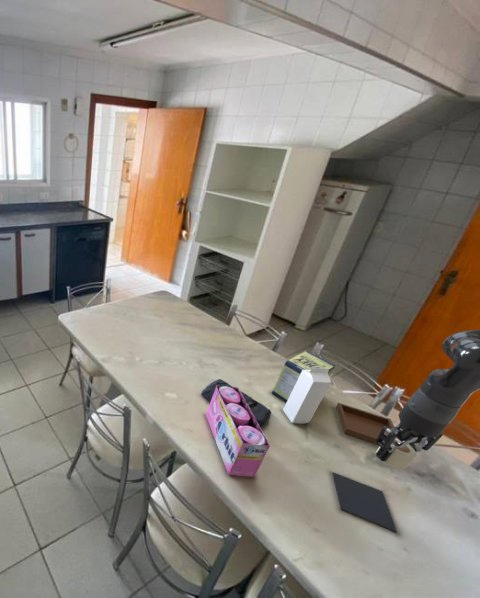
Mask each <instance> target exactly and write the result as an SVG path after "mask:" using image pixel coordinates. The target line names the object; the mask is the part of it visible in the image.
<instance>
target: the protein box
mask: <svg viewBox="0 0 480 598" xmlns="http://www.w3.org/2000/svg"><path fill="white" fill-rule="evenodd" d="M335 367H336V365H335V364H333V363H331V362H329V361H327V360H325V359H323V358H321V357H320V356H317V355H316V354H314V353H312V352H310V351H309V350H304V351H303V352H301V353H299V354H297V355H295V356H293V357H291V358H290V359H288V360H286V361H285V362H284V365H283V367H282V369H281V371H280V373H279V376H278V378H277V380H276V383H275V385H274V387H273V389H272V392H271V394H272V395H274V396H275V397H277V398H279V399H280V400H281V401H283V402H285V404H286V403H287V401H288V399H289V396H290V394H291V392H292V390H293V388H294V386H295V384H296V382H297V380H298V378H299V376H300V374H301V372H302V370H311V369H312V368H323V369H329V371H328V375H329V377H330V376H331V375H332V373H333V371H334V368H335Z"/></svg>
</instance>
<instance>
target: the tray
mask: <svg viewBox="0 0 480 598" xmlns="http://www.w3.org/2000/svg"><path fill="white" fill-rule="evenodd" d="M335 408H336V412H337V415H338V419H339V422H340V426H341V428H342V432H343V434H345V435H347V436H351V437H353V438H357V439H359V440H362V441H364V442H368V443H371V444H373V445H377V446H379V445H378V444H377V443H376V442H375V441H376V439H377V437H378V436H379V434H380V432H381V430H382V428H383V427H384V426H388V427H389V428H390V429H393V428H395V427H396V426H395V425H394V423H393V421H392V419H391V418H388V417H385V416H382V415H378V414H376V413H372V412H369V411H366V410H363V409H359V408H356V407H355V406H350V405H348V404H344V403H341V402H337V405H336V406H335Z"/></svg>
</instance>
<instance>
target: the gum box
mask: <svg viewBox="0 0 480 598" xmlns="http://www.w3.org/2000/svg"><path fill="white" fill-rule="evenodd" d="M232 387H233V388H230V387H226V386H225V387H220V388H219V385H218V386H216V389H215V392H214V394H213V397H212V400H211V402H209V406H208V408H207V411H206V414H205V416H206V419H207V421H208V425H209V428H210V429H211V432H212V435H213V438H214V440H215V443H216V446H217V448H218V451H219V453H220V456H221V460H222V461H223V464H224V467H225V470H226V472H227V474H228V475H229V476H238V477H251V478H255V477H256V475H257V473H258V471H259V469H260V466H261V465H262V463H263V462H264V459H265V457H266V455H267V454H268V452H269V449H270V447H271V444H270V443H269V440H268V438H267V436H266V435H265V433H264V431H263V430H262V428H261V426H259V424H258V423H257V421H256V419H255V417H254V415H253V414H252V412H251V410H250V408H249V406H248V405H247V403H246V401H245V399H244V397H243V395H242V394H241V392H242V391H241V390H240V389H239V387H237V386H232ZM240 391H241V392H240Z"/></svg>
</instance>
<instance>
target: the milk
mask: <svg viewBox="0 0 480 598" xmlns="http://www.w3.org/2000/svg"><path fill="white" fill-rule="evenodd" d="M328 371H329V369H323V368H312V369H311V370H302V372H301V374H300V376H299V378H298V380H297V382H296V384H295V386H294V388H293V390H292V392H291V394H290V396H289V399H288V401H287V403H286V402H285V405H284V406H283V409H282V412H283V413H284V414H285V416H286V417H287V419H288V420H289V421H290V422H291V424H301V425H307V424H308V423H310V422H311V420H312V418H313V417H314V415H315V413H316V412H317V409H318V407H319V406H320V405H321V402H322V401H323V399H324V397H325V396H326V393H327V391H328V390H329V388H330V387H331V385H332V381H331V378H330V376H329V375H328Z"/></svg>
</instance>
